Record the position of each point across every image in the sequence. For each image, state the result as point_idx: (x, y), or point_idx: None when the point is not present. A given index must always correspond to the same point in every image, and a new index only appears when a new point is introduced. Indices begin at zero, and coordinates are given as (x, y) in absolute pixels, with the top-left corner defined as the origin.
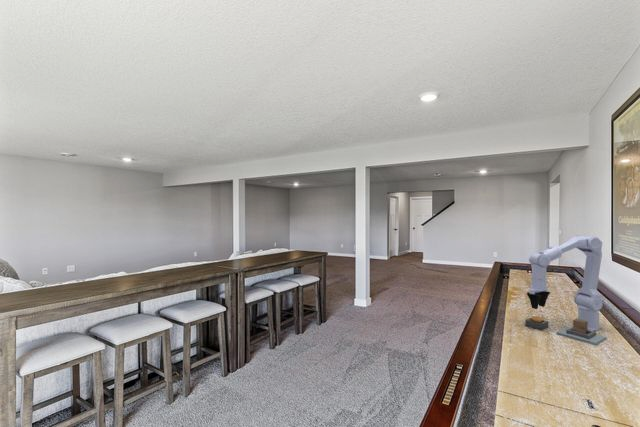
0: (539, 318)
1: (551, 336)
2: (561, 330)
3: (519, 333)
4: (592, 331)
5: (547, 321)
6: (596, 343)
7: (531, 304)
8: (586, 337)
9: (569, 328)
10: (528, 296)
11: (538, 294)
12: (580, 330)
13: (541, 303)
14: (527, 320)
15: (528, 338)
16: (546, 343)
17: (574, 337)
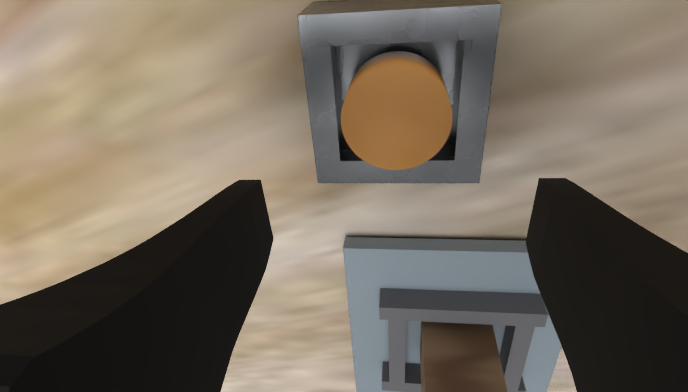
0: (379, 154)
1: (274, 229)
2: (423, 256)
3: (77, 80)
4: (513, 389)
5: (471, 177)
6: (362, 389)
7: (204, 211)
8: (382, 370)
9: (445, 310)
10: (13, 308)
11: (680, 360)
12: (421, 369)
13: (550, 244)
14: (300, 41)
15: (67, 166)
16: (118, 252)
17: (350, 325)
